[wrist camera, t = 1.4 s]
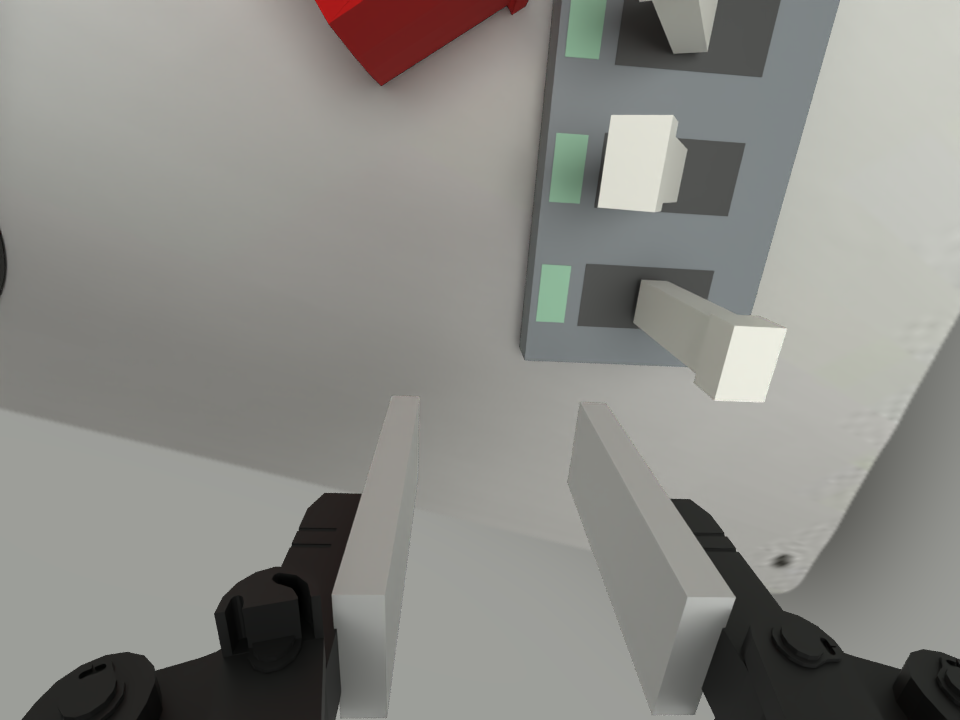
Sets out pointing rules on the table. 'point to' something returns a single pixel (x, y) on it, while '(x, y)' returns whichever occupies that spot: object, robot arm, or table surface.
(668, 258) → the breaker panel
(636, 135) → the handle
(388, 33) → the fire alarm
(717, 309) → the handle
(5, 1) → the table surface
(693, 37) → the handle
